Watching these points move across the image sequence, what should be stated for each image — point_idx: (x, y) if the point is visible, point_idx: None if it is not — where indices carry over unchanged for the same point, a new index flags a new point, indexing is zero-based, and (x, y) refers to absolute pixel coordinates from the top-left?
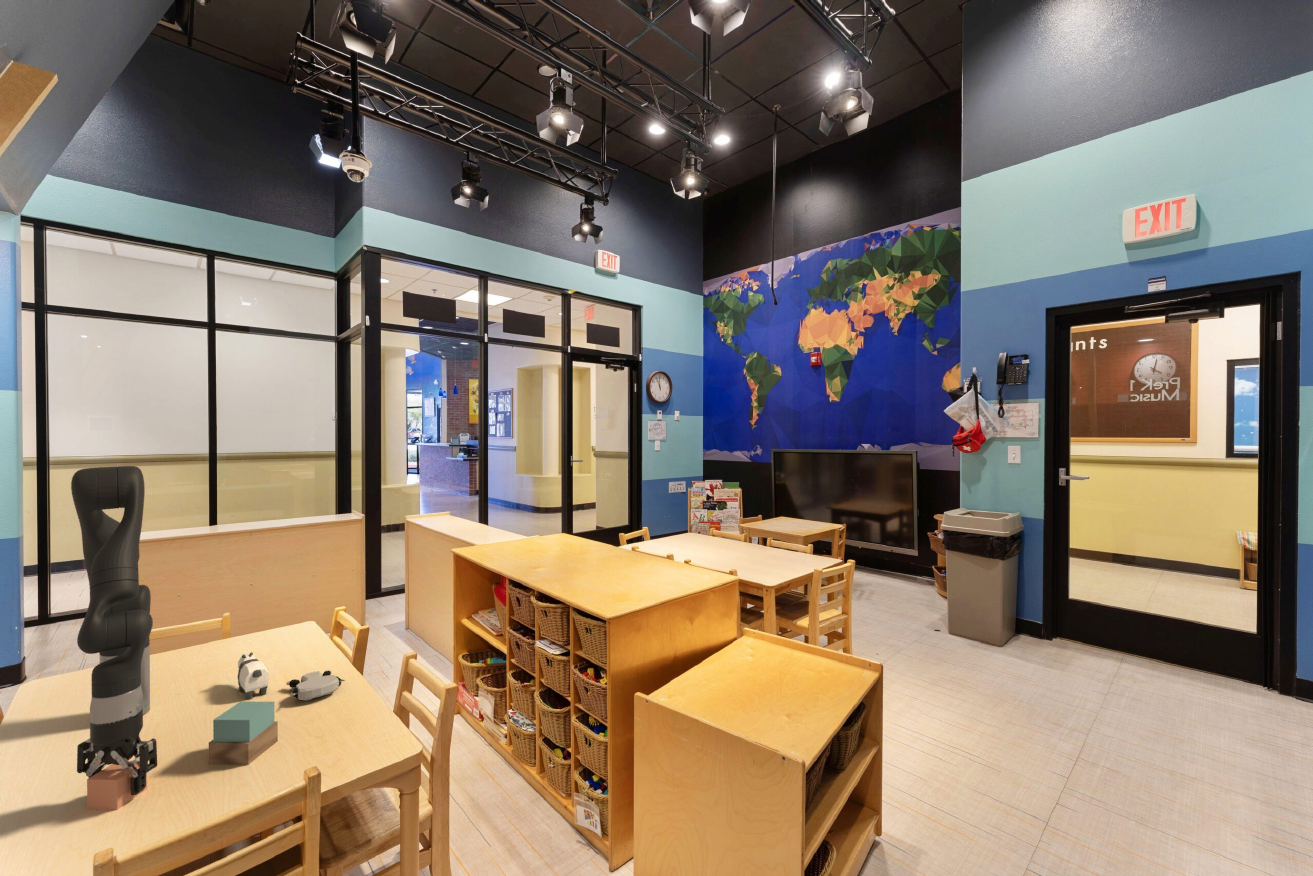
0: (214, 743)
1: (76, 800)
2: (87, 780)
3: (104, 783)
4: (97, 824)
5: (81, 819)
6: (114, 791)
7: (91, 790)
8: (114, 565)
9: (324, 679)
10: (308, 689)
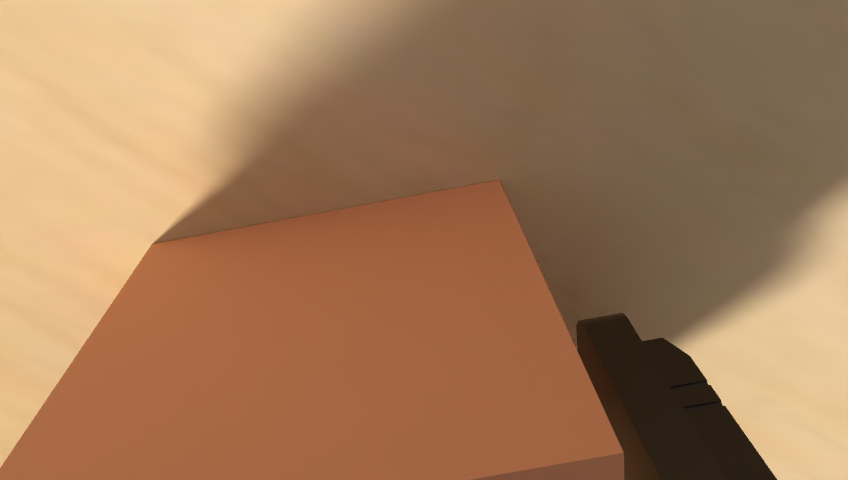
0: None
1: (765, 246)
2: (603, 436)
3: (238, 458)
4: (40, 12)
5: (359, 36)
6: (99, 384)
7: (486, 320)
8: None
9: None
10: None
